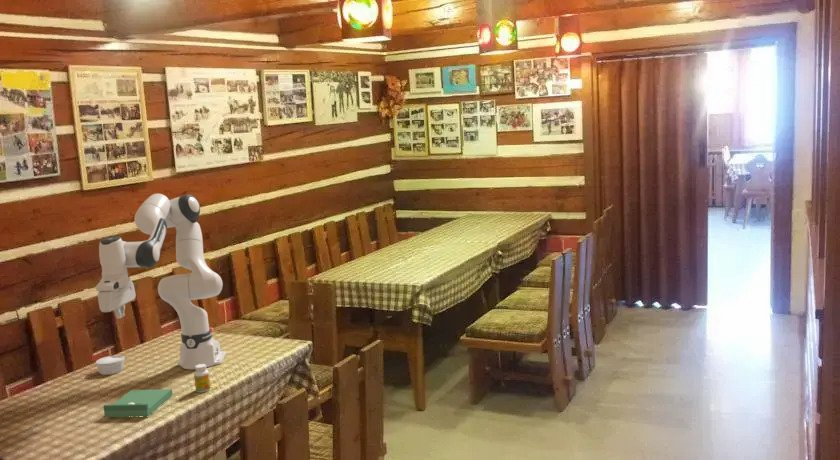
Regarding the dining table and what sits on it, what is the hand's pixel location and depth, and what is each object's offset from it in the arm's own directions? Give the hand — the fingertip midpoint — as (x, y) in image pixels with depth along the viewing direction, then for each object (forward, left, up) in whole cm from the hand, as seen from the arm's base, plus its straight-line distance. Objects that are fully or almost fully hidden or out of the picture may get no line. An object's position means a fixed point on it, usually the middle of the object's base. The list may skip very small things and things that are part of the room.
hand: (120, 317), depth 282 cm
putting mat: (+9, +8, -31) cm, 33 cm away
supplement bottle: (-6, +26, -31) cm, 41 cm away
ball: (+15, +8, -29) cm, 34 cm away
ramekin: (-30, -24, -31) cm, 50 cm away
